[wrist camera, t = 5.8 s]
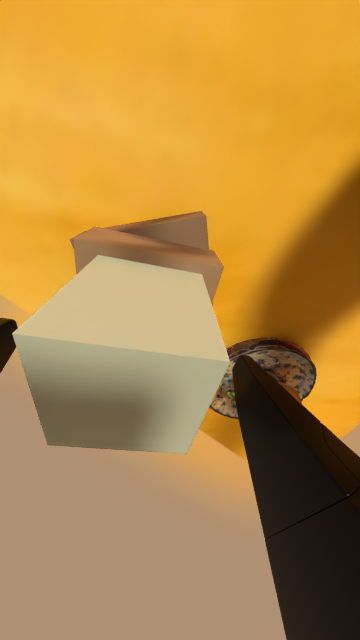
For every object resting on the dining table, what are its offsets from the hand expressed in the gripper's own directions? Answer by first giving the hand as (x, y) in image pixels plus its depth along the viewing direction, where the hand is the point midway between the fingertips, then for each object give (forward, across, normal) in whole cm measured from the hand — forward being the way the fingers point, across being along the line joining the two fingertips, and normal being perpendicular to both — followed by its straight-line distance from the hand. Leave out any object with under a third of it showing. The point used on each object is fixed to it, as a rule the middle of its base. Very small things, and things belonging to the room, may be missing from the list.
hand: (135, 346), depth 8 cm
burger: (+9, -13, +10) cm, 19 cm away
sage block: (+3, 0, 0) cm, 3 cm away
